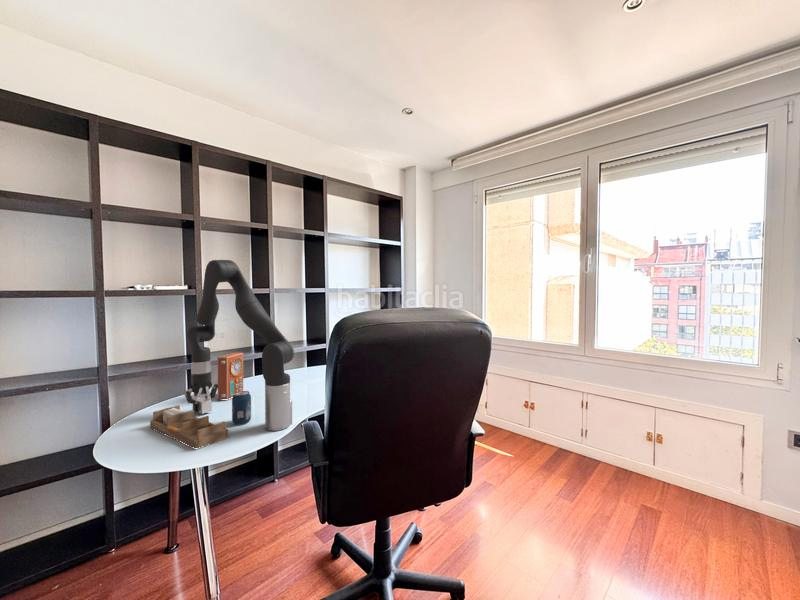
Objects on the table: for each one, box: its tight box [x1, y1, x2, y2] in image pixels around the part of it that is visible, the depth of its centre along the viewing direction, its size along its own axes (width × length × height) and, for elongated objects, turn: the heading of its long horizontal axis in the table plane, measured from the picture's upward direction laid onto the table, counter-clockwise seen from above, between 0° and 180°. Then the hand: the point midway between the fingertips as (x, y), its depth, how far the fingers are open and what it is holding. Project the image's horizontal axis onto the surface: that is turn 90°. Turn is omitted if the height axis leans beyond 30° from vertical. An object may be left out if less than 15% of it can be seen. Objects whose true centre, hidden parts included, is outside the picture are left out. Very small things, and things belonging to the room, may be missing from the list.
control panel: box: [217, 352, 244, 400], centre depth 164 cm, size 21×7×15 cm
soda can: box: [231, 390, 252, 426], centre depth 131 cm, size 7×7×12 cm
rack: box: [149, 405, 229, 448], centre depth 121 cm, size 11×34×6 cm, turn 59°
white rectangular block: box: [191, 396, 213, 415], centre depth 141 cm, size 4×8×5 cm, turn 59°
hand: (201, 410), depth 141 cm, fingers closed on white rectangular block, 4 cm apart
